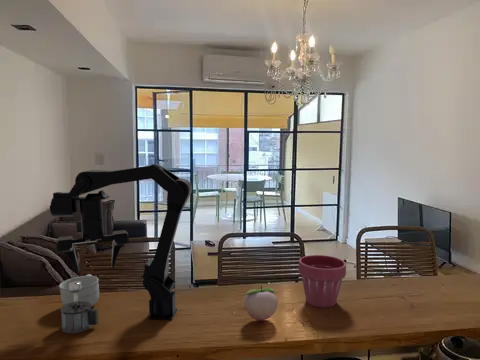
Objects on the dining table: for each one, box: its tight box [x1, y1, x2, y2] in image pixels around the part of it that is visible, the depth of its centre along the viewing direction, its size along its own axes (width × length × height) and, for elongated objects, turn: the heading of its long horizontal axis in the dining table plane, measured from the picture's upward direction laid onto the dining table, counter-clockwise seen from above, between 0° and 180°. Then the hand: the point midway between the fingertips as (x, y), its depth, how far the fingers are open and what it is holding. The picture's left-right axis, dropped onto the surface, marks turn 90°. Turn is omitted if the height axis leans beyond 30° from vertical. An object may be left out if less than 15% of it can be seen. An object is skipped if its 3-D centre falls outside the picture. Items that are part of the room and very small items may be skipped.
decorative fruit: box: [243, 285, 279, 322], centre depth 108 cm, size 9×8×10 cm
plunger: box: [69, 281, 82, 309], centre depth 105 cm, size 5×5×8 cm
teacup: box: [58, 273, 100, 307], centre depth 120 cm, size 14×11×8 cm
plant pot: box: [298, 254, 347, 308], centre depth 122 cm, size 14×14×13 cm
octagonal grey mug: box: [59, 301, 99, 334], centre depth 105 cm, size 9×7×6 cm
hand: (95, 270), depth 112 cm, fingers open, 9 cm apart
